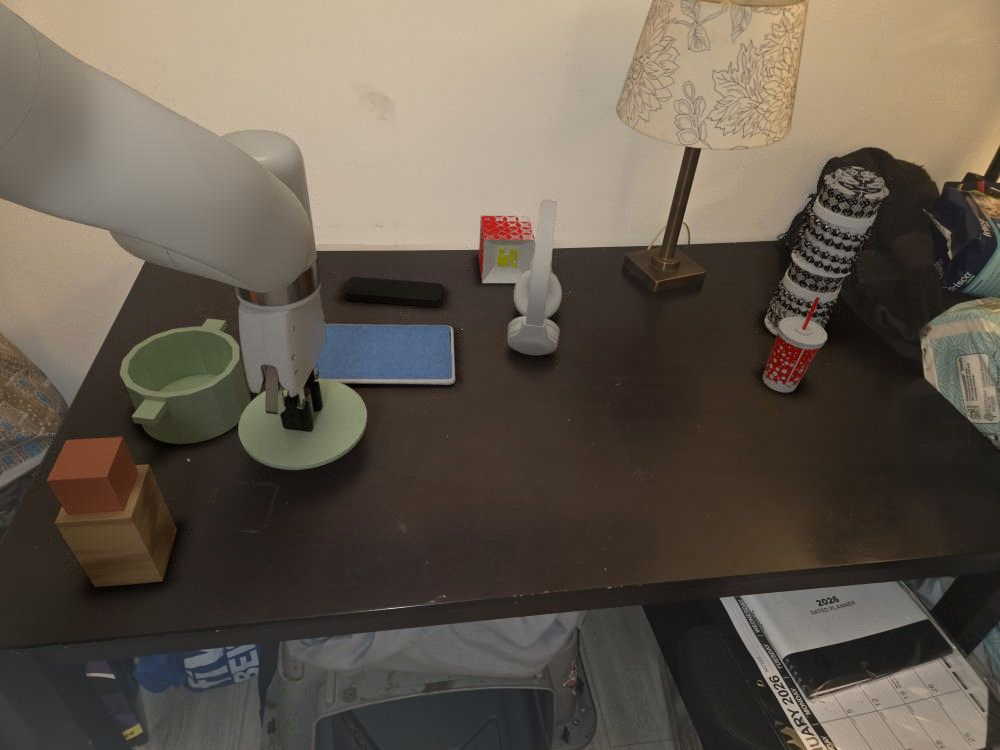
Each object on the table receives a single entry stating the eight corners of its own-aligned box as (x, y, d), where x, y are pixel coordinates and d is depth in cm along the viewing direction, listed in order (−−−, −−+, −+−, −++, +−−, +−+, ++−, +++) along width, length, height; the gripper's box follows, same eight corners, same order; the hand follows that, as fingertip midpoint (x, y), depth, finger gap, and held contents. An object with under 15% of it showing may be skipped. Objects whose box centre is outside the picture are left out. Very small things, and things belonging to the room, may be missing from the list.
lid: (380, 392, 77) (378, 359, 73) (348, 481, 66) (343, 447, 63) (268, 379, 77) (260, 345, 74) (218, 465, 67) (207, 429, 63)
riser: (163, 581, 62) (131, 517, 55) (94, 587, 61) (54, 523, 54) (177, 529, 66) (149, 464, 60) (113, 534, 65) (78, 468, 59)
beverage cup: (798, 371, 93) (838, 289, 83) (804, 399, 88) (847, 316, 79) (754, 364, 93) (789, 281, 84) (758, 391, 89) (796, 307, 80)
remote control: (444, 292, 103) (349, 282, 102) (444, 283, 102) (348, 273, 101) (441, 310, 99) (342, 300, 98) (441, 301, 98) (342, 290, 97)
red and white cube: (481, 283, 105) (484, 239, 100) (478, 257, 111) (480, 215, 105) (530, 283, 106) (535, 240, 100) (524, 258, 112) (529, 216, 106)
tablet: (453, 330, 95) (453, 323, 94) (455, 387, 85) (455, 380, 84) (318, 329, 93) (317, 322, 92) (304, 388, 83) (303, 380, 82)
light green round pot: (274, 366, 86) (264, 320, 81) (214, 468, 72) (198, 420, 67) (181, 355, 86) (166, 308, 82) (105, 454, 73) (81, 405, 68)
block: (124, 510, 56) (106, 476, 53) (66, 515, 55) (46, 480, 52) (138, 470, 59) (122, 436, 56) (84, 474, 58) (66, 439, 55)
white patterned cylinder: (762, 304, 105) (822, 154, 89) (821, 318, 103) (894, 167, 87) (760, 335, 99) (824, 179, 82) (823, 351, 97) (902, 194, 81)
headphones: (559, 303, 102) (577, 182, 89) (554, 378, 88) (575, 248, 75) (514, 297, 102) (525, 176, 89) (502, 372, 88) (513, 241, 75)
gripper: (269, 228, 65) (295, 367, 77) (195, 321, 53) (240, 469, 65) (342, 236, 65) (357, 374, 77) (285, 332, 53) (313, 479, 65)
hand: (303, 417), depth 71 cm, fingers closed on lid, 2 cm apart
